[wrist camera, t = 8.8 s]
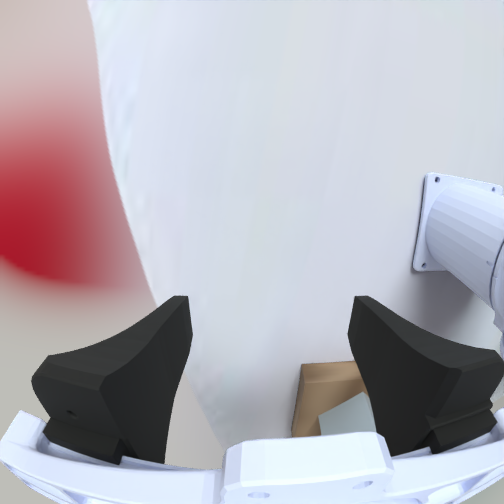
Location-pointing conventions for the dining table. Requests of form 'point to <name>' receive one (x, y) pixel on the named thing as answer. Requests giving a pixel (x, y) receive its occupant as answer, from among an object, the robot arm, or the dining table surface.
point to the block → (348, 417)
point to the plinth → (323, 393)
